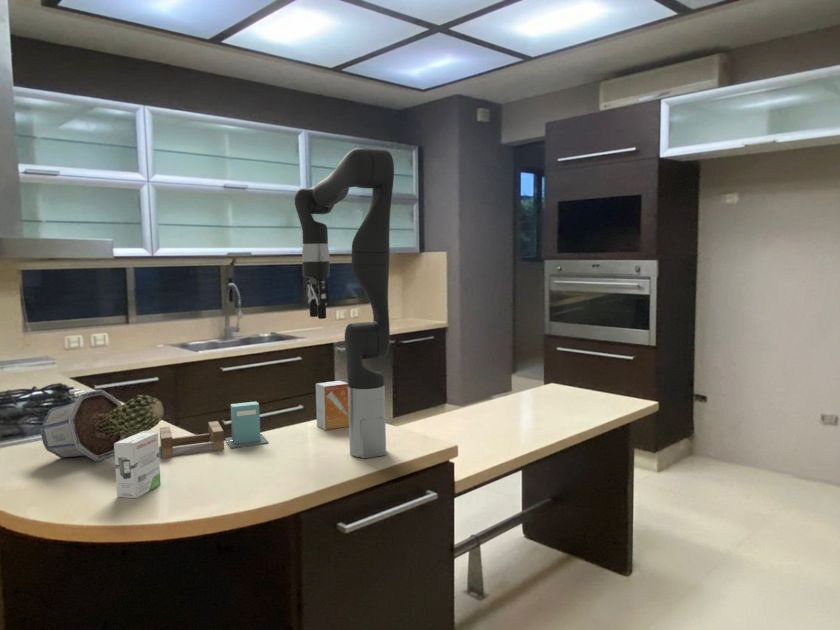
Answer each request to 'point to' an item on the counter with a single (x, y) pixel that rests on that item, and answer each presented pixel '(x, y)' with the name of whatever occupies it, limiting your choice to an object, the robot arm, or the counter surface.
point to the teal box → (245, 422)
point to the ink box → (137, 465)
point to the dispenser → (192, 441)
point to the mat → (232, 445)
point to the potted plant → (97, 424)
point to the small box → (332, 405)
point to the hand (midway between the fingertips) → (317, 317)
